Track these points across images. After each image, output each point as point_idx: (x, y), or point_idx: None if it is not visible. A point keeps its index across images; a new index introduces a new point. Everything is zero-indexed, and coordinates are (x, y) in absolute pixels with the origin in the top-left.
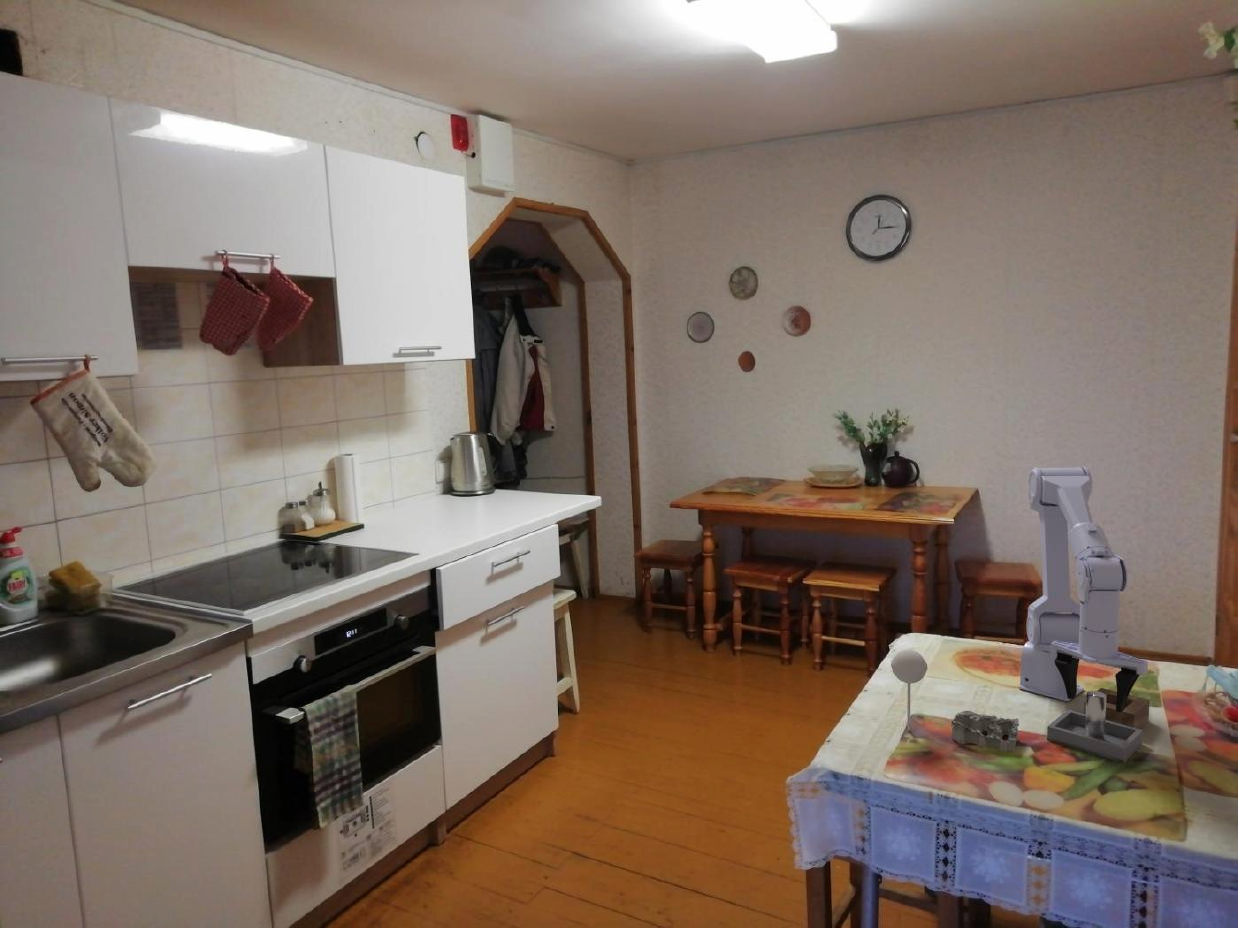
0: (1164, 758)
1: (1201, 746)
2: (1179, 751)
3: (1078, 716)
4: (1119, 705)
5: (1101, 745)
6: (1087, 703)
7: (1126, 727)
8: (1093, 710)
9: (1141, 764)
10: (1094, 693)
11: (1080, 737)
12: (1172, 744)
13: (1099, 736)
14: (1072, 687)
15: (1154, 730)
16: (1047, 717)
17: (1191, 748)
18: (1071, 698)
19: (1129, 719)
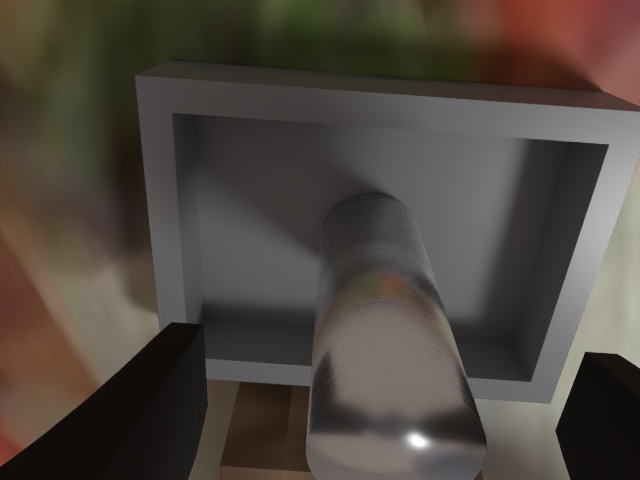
0: (56, 245)
1: (16, 424)
2: (48, 344)
3: (485, 369)
4: (147, 354)
5: (283, 80)
6: (446, 345)
7: (237, 362)
8: (386, 301)
9: (97, 110)
10: (415, 464)
11: (421, 94)
12: (96, 387)
13: (336, 219)
14: (637, 461)
15: (198, 458)
16: (620, 352)
17: (31, 392)
18: (590, 354)
19: (248, 436)
